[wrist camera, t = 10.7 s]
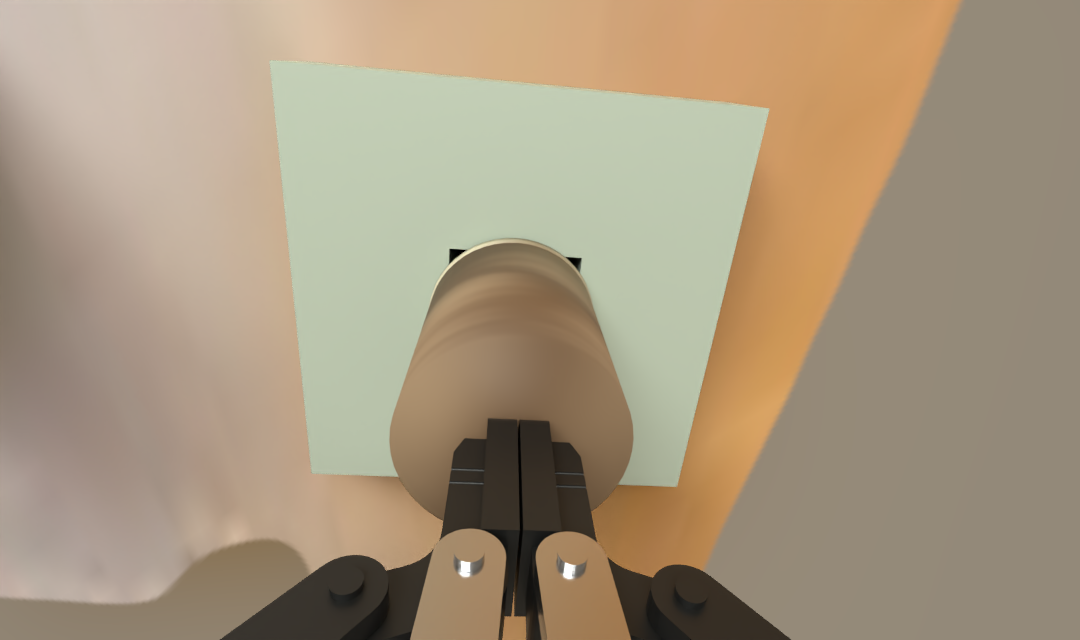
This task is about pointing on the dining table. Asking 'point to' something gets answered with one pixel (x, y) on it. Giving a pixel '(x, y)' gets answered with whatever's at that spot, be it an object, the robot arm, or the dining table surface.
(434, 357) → the peg
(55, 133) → the dining table surface
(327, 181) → the socket block
